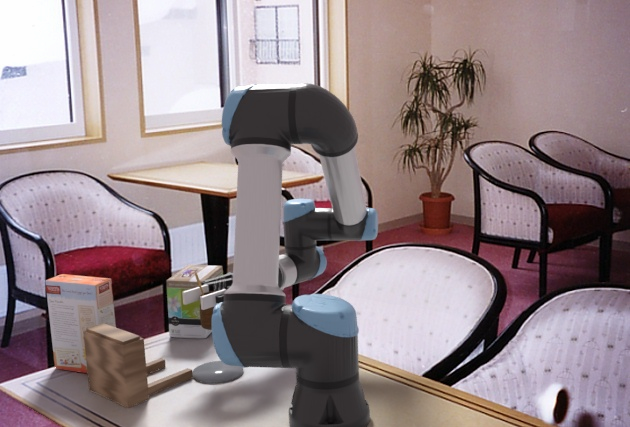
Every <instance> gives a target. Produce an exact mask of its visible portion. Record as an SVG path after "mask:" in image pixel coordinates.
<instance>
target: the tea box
mask: <svg viewBox="0 0 630 427" xmlns="http://www.w3.org/2000/svg"><path fill="white" fill-rule="evenodd" d="M196 272H197V275H198V277H199V280H200V282H202V281H205V280H208V279H212V278H215V277H218V276H222V275H224V270H223V265H206V264H204V265H203V264H202V265H201V264H187V265H186V266H184V267H183V268H181V269H180V270H178V271H177V272H176V273H175V274H173V275H171V277H169V278H168V279H166V295H167V296H166V298H167V300H166V301H167V312H168V313H167V314H168V316H167V317H168V333H169V335H168V336H169V338H177V339H178V338H181V339H183V338H184V339H185V338H186V339H207V337H208V336H209V335H210V334H212V330H208V329H204V328H203V327H202V326H201V320H200V304H201V300H199V301H196V302H193V303H190V304H187V305H184V304H183V295H182V292H184V291H187V290H190V289H193V288H196V287H199V286H198V283H197V279H196V276H195V273H196Z"/></svg>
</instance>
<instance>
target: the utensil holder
mask: <svg viewBox="0 0 630 427" xmlns="http://www.w3.org/2000/svg"><path fill="white" fill-rule="evenodd" d="M195 276H196V279H197V283H198V286H199V287H200V289H201V292H202V295H201V296H204V295H207V294H210V293H214V292H217V291H215V290H214V291H210V292H206V293H203V290H202V287H201V282H200V280H199V277H198V275H197V272H196V273H195ZM218 277H220V276H218ZM222 277H223V276H222ZM216 278H217V277H216ZM220 278H221V277H220ZM224 279H225V278H224ZM216 283H217V282H216ZM220 283H221V281H220ZM220 283H219V284H220ZM225 283H226V281H225ZM214 284H215V283H214ZM223 284H224V280H223ZM215 286H216V285H215ZM223 288H224V287H223ZM219 291H220V289H219ZM200 300H201V299H200ZM214 307H215V306H214ZM214 307H211V308H208V309H205V310H202V309H201V304H200V320H201V326H202V327H203V328H204V329H208V330H212V315H213V309H214Z"/></svg>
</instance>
